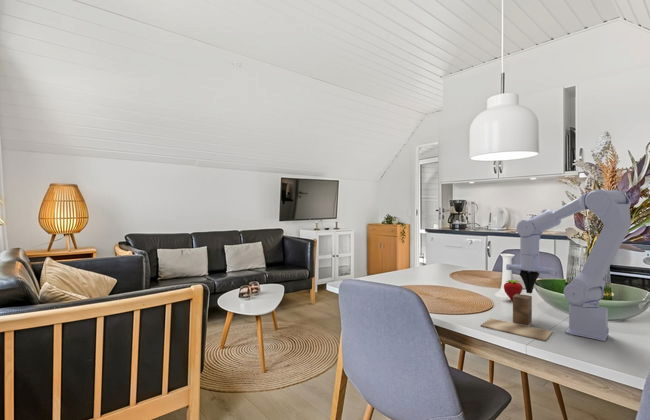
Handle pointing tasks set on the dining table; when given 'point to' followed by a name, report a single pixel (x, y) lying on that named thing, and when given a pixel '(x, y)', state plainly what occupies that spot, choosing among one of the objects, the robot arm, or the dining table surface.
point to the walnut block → (522, 309)
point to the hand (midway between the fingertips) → (529, 292)
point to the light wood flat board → (517, 329)
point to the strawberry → (512, 288)
